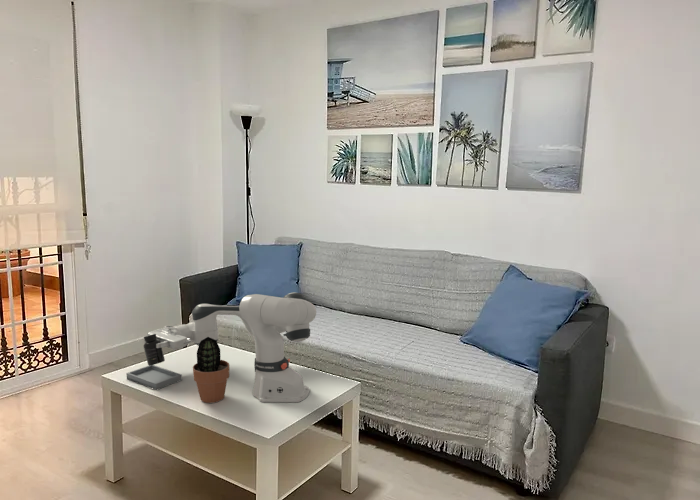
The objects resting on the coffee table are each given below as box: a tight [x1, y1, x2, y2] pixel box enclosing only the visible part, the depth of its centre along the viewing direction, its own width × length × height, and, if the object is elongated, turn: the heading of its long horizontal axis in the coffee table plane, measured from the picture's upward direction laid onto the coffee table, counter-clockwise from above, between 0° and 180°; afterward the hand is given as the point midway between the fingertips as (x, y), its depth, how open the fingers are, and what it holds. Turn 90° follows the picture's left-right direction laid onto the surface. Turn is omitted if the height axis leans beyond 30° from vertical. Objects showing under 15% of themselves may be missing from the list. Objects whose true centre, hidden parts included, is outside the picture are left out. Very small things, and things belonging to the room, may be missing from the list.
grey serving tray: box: [126, 364, 183, 391], centre depth 225 cm, size 20×12×2 cm, turn 55°
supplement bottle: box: [143, 334, 166, 366], centre depth 223 cm, size 7×7×12 cm
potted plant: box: [192, 337, 230, 404], centre depth 205 cm, size 14×14×25 cm
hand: (150, 344), depth 222 cm, fingers closed on supplement bottle, 6 cm apart
